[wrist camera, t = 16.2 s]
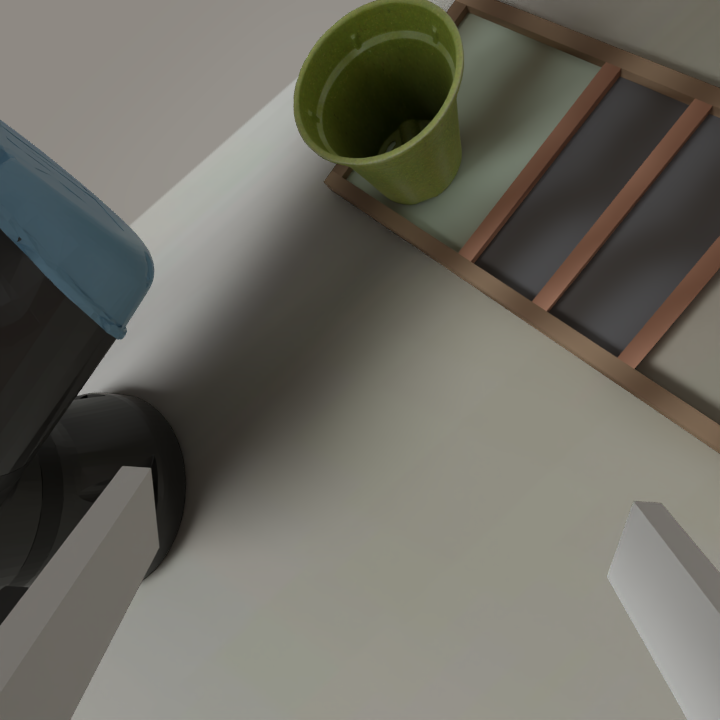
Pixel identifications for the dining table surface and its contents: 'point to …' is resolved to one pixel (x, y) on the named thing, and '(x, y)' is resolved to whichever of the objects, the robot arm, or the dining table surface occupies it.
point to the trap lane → (574, 192)
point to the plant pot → (386, 97)
